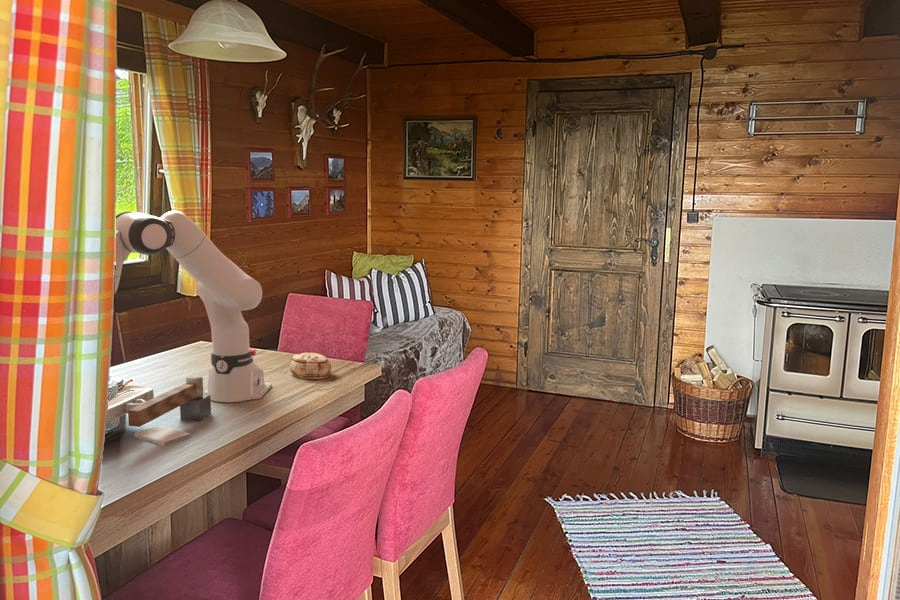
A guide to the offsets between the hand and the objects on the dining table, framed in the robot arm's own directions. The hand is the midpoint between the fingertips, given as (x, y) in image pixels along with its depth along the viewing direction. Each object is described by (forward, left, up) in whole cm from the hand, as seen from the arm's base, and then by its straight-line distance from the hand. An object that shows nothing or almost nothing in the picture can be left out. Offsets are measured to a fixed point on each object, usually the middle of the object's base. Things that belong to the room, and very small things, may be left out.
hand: (148, 406), depth 187 cm
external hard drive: (-2, +3, -9) cm, 10 cm away
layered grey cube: (-18, +3, -8) cm, 20 cm away
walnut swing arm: (-5, +3, -2) cm, 6 cm away
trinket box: (-69, +16, -9) cm, 71 cm away
